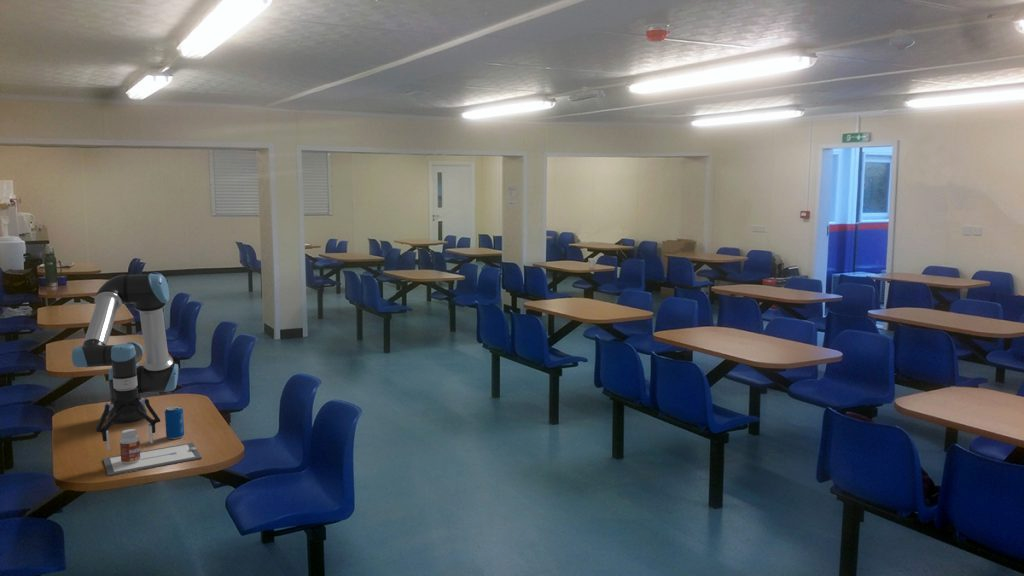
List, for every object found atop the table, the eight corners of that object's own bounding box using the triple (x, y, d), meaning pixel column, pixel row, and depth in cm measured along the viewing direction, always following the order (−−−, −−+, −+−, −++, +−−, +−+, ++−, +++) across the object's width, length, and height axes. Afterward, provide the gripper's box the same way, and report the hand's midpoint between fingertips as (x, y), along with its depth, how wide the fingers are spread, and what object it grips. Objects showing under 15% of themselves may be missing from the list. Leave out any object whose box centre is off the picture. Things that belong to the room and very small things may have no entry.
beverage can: (177, 440, 286) (175, 410, 284) (162, 439, 287) (160, 409, 285) (188, 435, 292) (186, 405, 290) (173, 433, 293) (171, 404, 291)
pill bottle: (131, 465, 258) (128, 434, 257) (117, 463, 260) (114, 433, 259) (144, 459, 264) (142, 429, 263) (131, 457, 266) (128, 427, 264)
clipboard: (103, 459, 265) (102, 456, 265) (192, 444, 282) (192, 440, 281) (108, 476, 250) (107, 472, 250) (201, 458, 267) (201, 455, 267)
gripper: (85, 396, 248) (90, 456, 252) (166, 385, 262) (170, 442, 265) (84, 390, 255) (89, 449, 258) (162, 380, 268) (166, 435, 272)
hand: (130, 445), depth 262 cm, fingers open, 13 cm apart
